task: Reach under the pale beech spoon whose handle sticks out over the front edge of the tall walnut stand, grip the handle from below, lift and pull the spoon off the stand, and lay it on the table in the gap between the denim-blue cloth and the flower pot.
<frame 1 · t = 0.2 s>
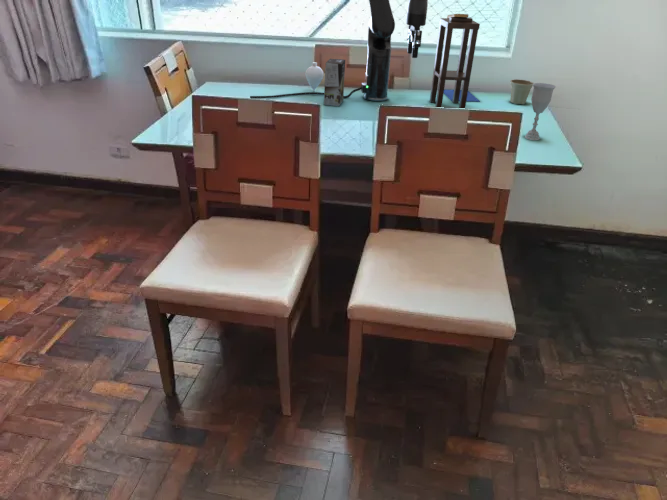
hand: (412, 55, 223), 17 cm above the table, tool pointing down, fingers open, 8 cm apart
cloth: (459, 95, 240), on the table
flower pot: (517, 103, 235), on the table
spoon: (457, 16, 212), point 33 cm above the table, touching stand
spinning top: (313, 92, 234), on the table
stand: (446, 105, 225), on the table
chalice: (532, 138, 194), on the table
coffee box: (333, 103, 221), on the table
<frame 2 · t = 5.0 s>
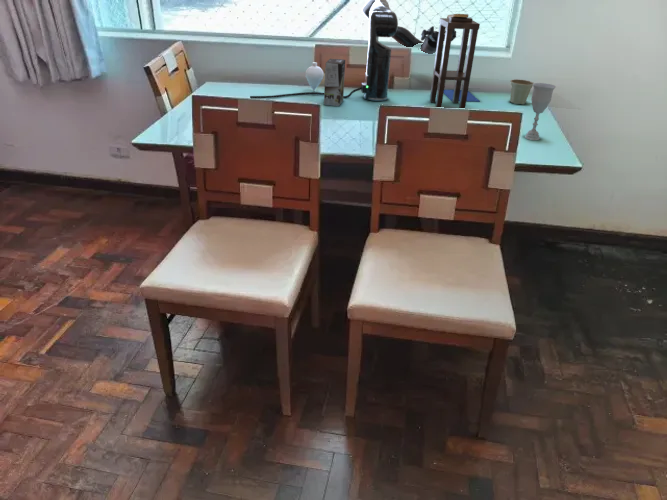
hand: (443, 28, 231), 26 cm above the table, tool pointing upward, fingers open, 8 cm apart
nothing on the table moved.
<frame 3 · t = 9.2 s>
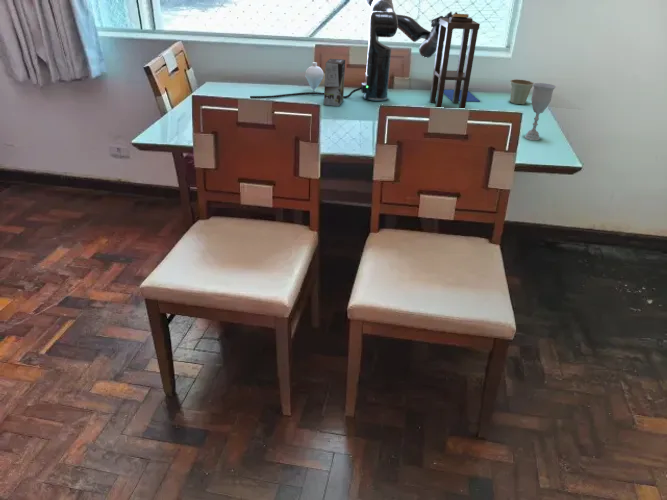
hand: (453, 14, 217), 33 cm above the table, tool pointing upward, fingers closed on spoon
spoon: (457, 16, 212), point 33 cm above the table, touching gripper, stand
everything else where it was.
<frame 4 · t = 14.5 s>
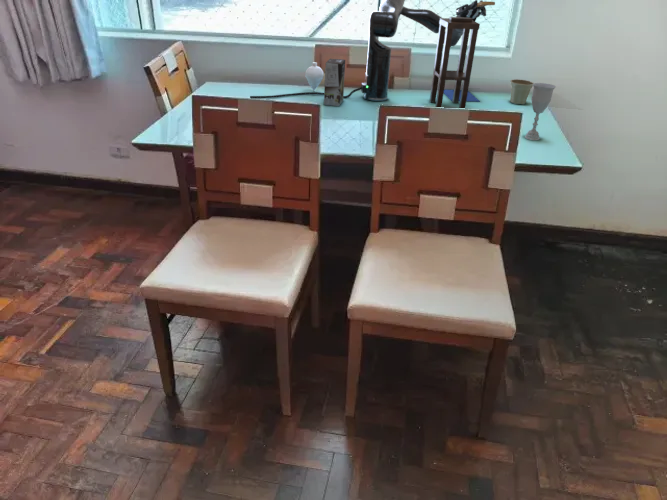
hand: (479, 2, 222), 37 cm above the table, tool pointing upward, fingers closed on spoon
spoon: (483, 3, 217), point 37 cm above the table, touching gripper
everything else where it was.
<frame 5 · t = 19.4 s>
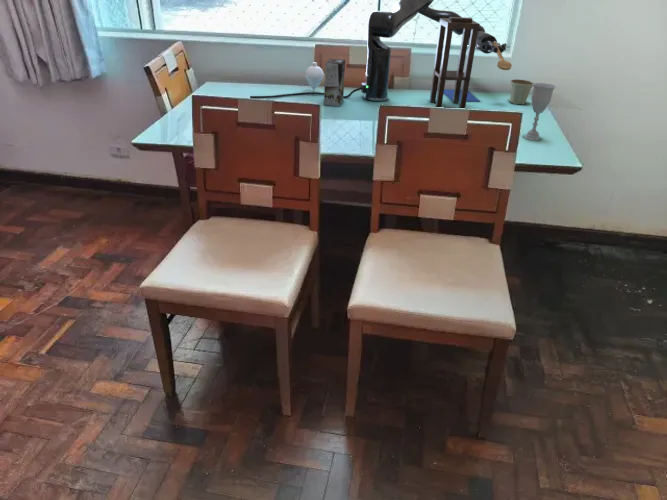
hand: (498, 50, 228), 20 cm above the table, tool horizontal, fingers closed on spoon
spoon: (501, 59, 225), point 17 cm above the table, tilted 33°, touching gripper
everything else where it was.
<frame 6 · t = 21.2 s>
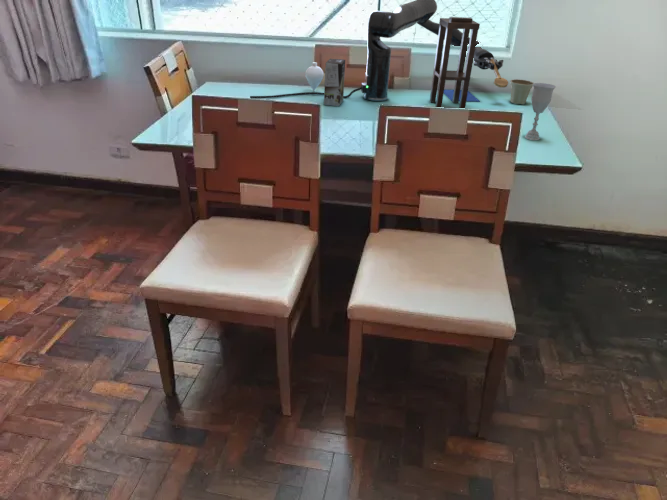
hand: (495, 67, 231), 13 cm above the table, tool horizontal, fingers closed on spoon
spoon: (498, 77, 228), point 10 cm above the table, tilted 33°, touching gripper
everything else where it was.
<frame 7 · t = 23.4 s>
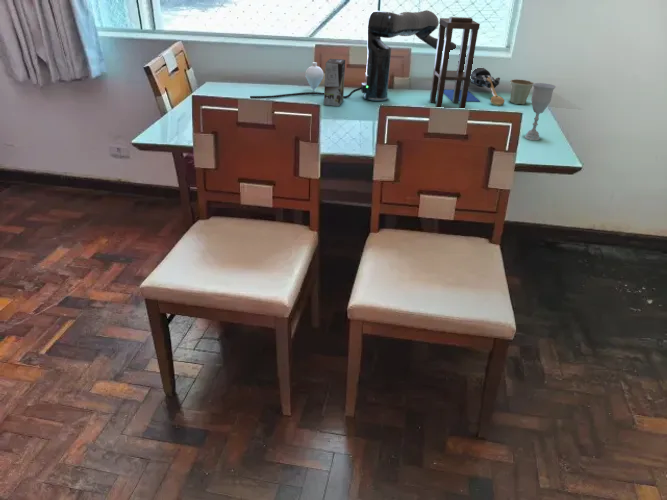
hand: (492, 85, 235), 6 cm above the table, tool horizontal, fingers closed on spoon
spoon: (495, 95, 232), point 3 cm above the table, tilted 33°, touching gripper
everything else where it was.
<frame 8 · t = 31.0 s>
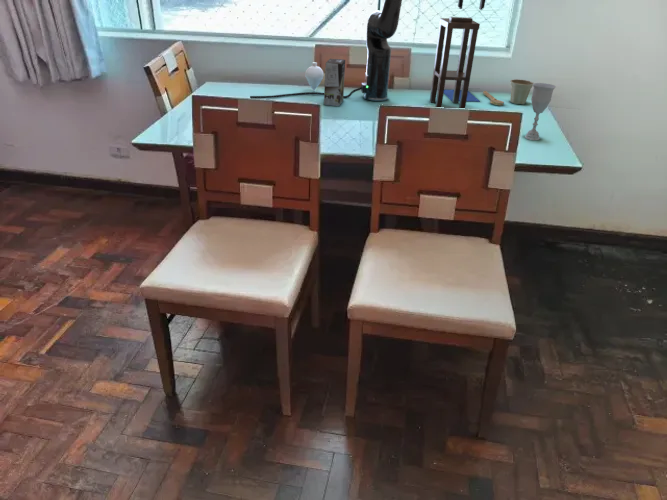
hand: (470, 9, 227), 34 cm above the table, tool pointing down, fingers open, 8 cm apart
spoon: (493, 99, 234), point 1 cm above the table, tilted 13°
everything else where it was.
at the end: spoon inside the target area (0.3 cm from its centre), point 0.8 cm above the table; the gripper is holding nothing; flower pot moved 0.2 cm from its start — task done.
